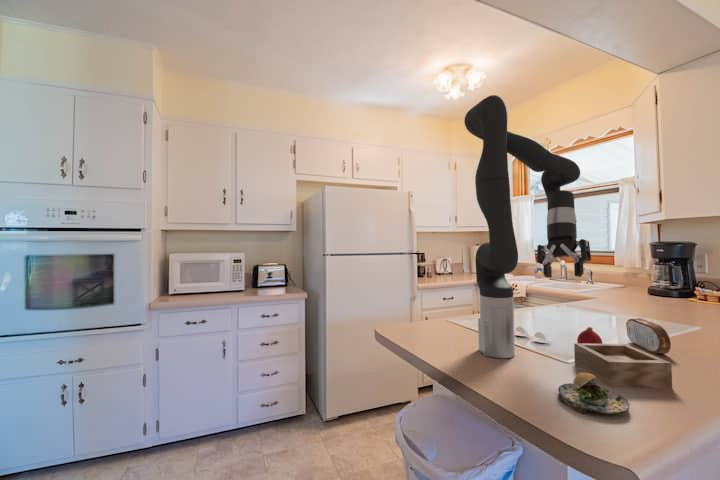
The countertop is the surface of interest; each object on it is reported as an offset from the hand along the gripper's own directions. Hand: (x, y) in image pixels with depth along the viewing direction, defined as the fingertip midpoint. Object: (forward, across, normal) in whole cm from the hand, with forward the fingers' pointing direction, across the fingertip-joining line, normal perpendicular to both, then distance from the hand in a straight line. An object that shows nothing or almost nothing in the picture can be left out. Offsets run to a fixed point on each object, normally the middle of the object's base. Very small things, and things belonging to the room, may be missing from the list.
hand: (562, 277), depth 90 cm
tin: (+18, +7, +30) cm, 36 cm away
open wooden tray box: (+25, +12, +2) cm, 28 cm away
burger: (+30, +16, -18) cm, 38 cm away
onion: (+21, +1, +10) cm, 24 cm away
